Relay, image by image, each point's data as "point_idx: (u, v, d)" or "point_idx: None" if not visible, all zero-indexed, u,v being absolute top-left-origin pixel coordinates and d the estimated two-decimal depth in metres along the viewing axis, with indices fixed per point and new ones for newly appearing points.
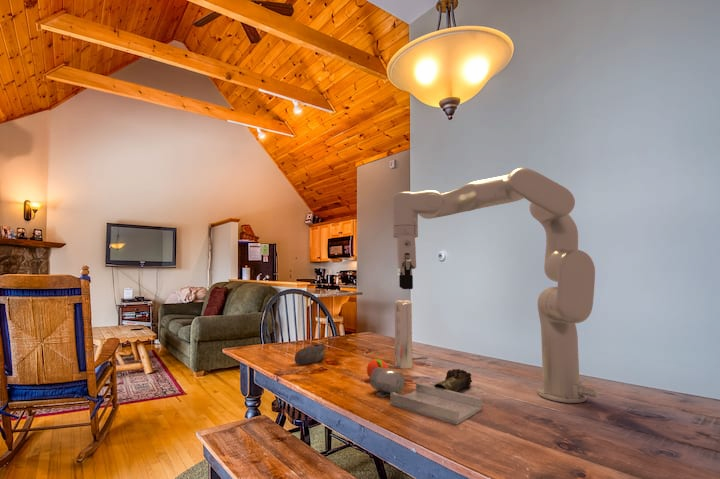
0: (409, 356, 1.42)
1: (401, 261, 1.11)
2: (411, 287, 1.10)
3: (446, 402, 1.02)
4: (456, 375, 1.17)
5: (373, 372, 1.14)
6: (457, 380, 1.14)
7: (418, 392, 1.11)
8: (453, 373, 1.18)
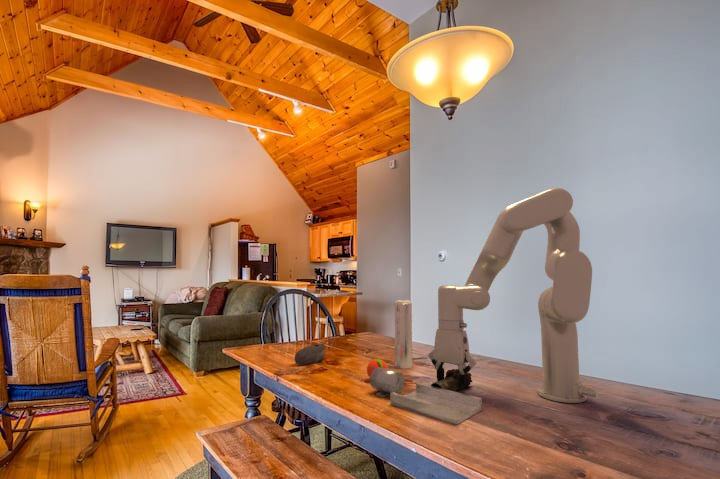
0: (409, 356, 1.42)
1: (463, 358, 1.12)
2: (465, 384, 1.14)
3: (446, 402, 1.02)
4: (455, 375, 1.17)
5: (373, 372, 1.14)
6: (455, 380, 1.14)
7: (418, 392, 1.11)
8: (452, 373, 1.18)
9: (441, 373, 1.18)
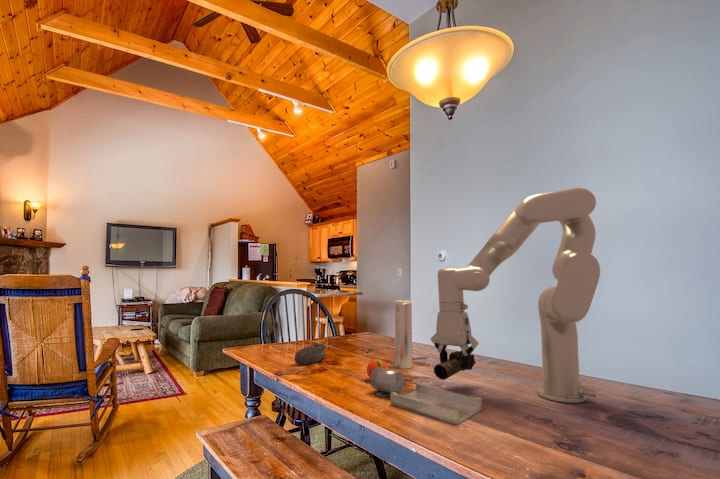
0: (409, 356, 1.42)
1: (465, 339, 1.13)
2: (468, 366, 1.14)
3: (446, 402, 1.02)
4: (458, 357, 1.17)
5: (373, 372, 1.14)
6: (458, 361, 1.14)
7: (418, 392, 1.11)
8: (455, 355, 1.18)
9: (444, 356, 1.19)
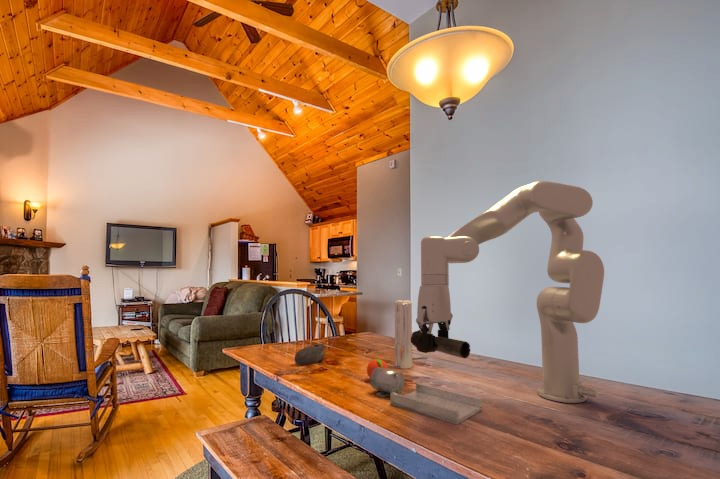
0: (409, 356, 1.42)
1: None
2: None
3: (446, 402, 1.02)
4: None
5: (373, 372, 1.14)
6: None
7: (418, 392, 1.11)
8: None
9: None
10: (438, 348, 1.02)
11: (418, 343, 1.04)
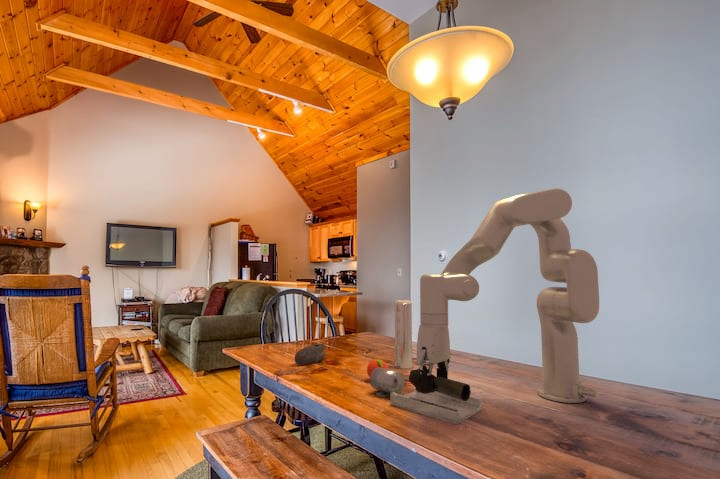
0: (409, 356, 1.42)
1: None
2: None
3: (446, 402, 1.02)
4: None
5: (373, 372, 1.14)
6: None
7: (418, 392, 1.11)
8: None
9: None
10: (438, 389, 1.00)
11: (417, 384, 1.02)
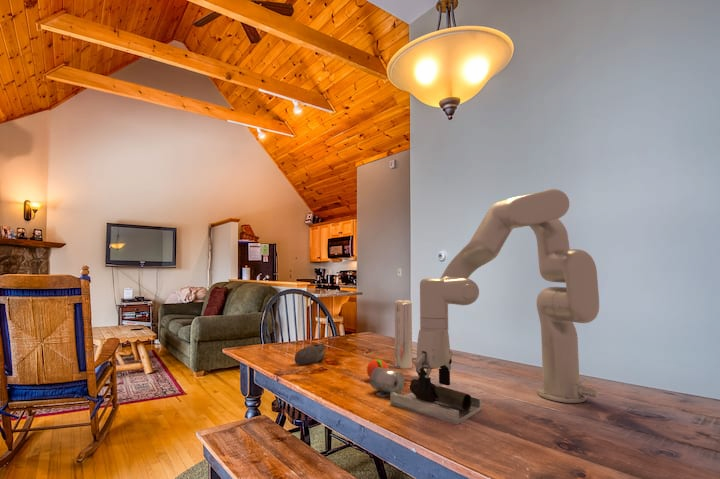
0: (409, 356, 1.42)
1: None
2: None
3: None
4: (431, 384, 1.03)
5: (373, 372, 1.14)
6: None
7: None
8: None
9: None
10: (439, 399, 1.00)
11: (418, 393, 1.02)
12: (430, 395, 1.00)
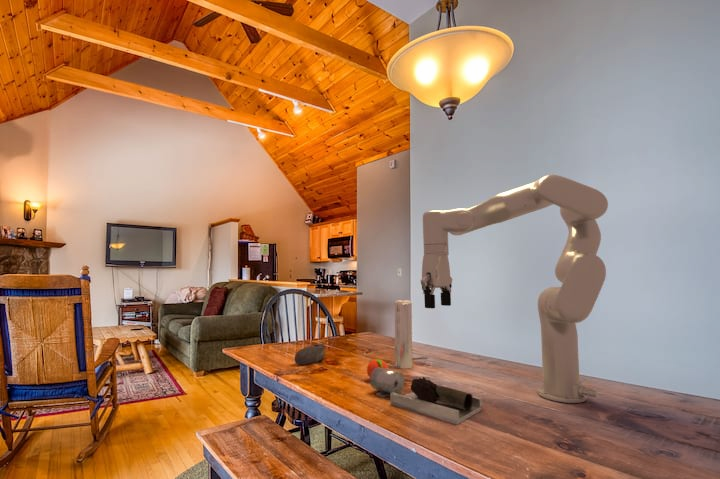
0: (409, 356, 1.42)
1: None
2: None
3: None
4: (433, 384, 1.04)
5: (373, 372, 1.14)
6: None
7: None
8: (430, 383, 1.03)
9: None
10: (440, 399, 1.00)
11: (419, 393, 1.02)
12: (431, 395, 1.01)
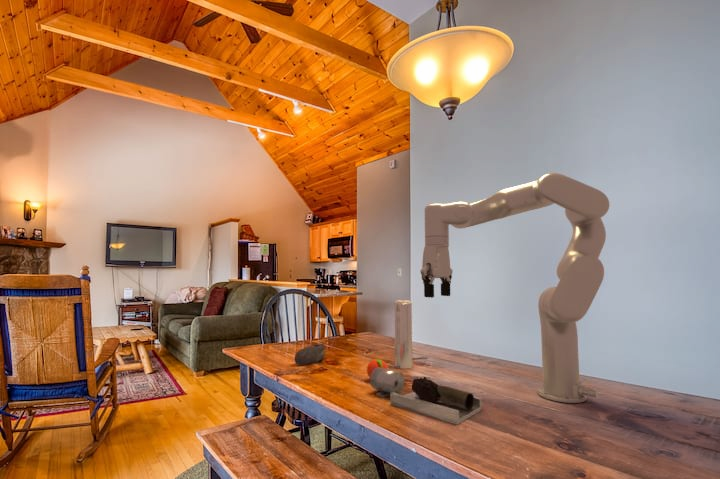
0: (409, 356, 1.42)
1: None
2: None
3: None
4: (434, 383, 1.04)
5: (373, 372, 1.14)
6: None
7: None
8: (431, 383, 1.03)
9: None
10: (441, 398, 1.00)
11: (421, 393, 1.02)
12: (433, 395, 1.01)
